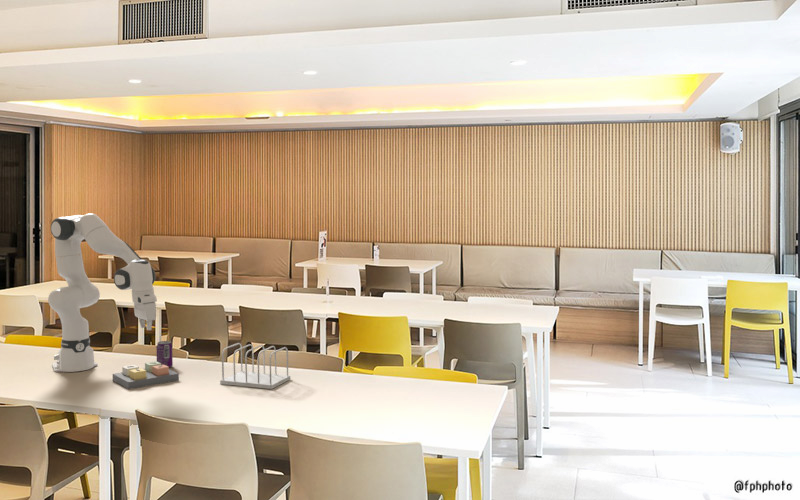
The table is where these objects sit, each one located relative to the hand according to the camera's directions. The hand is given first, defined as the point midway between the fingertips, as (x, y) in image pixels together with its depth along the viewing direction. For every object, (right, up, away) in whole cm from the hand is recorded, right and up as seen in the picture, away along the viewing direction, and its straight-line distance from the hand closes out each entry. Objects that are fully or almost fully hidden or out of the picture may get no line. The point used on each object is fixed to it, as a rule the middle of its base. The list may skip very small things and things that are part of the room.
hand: (146, 328), depth 292 cm
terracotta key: (+4, -20, +5) cm, 22 cm away
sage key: (-1, -20, +11) cm, 23 cm away
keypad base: (-2, -23, +5) cm, 24 cm away
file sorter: (+46, -24, +5) cm, 52 cm away
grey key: (-8, -20, +5) cm, 22 cm away
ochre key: (-3, -21, -1) cm, 21 cm away
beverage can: (-2, -22, +28) cm, 36 cm away
